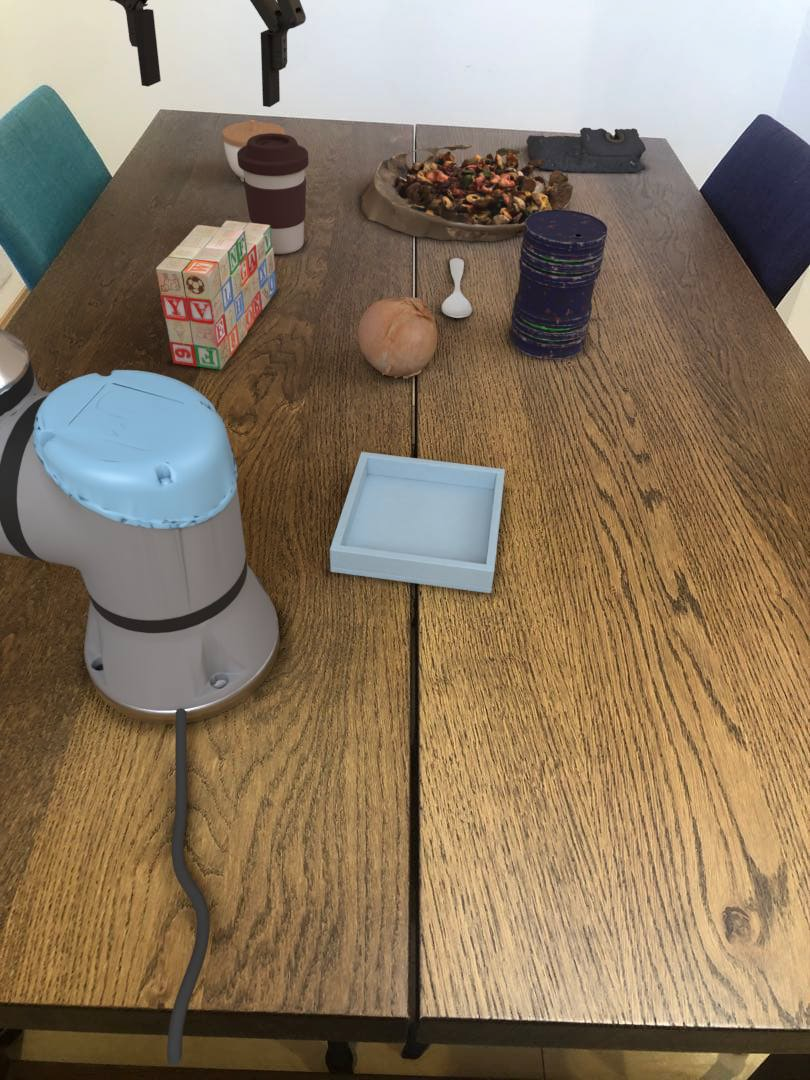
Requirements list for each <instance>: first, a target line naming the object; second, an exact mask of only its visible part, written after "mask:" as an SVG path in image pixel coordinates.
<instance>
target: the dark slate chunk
mask: <svg viewBox="0 0 810 1080" xmlns="http://www.w3.org/2000/svg"><path fill="white" fill-rule="evenodd" d="M579 134H580V136H575V135H550V136H545V135H534V134H533V135H531V134H530V135H528V136H527V139H526V142H525V143H526V148H527V149H528V151H529V156H530V158H531V160H535V159H543V160H545V162H546V164H544V165H541V166H538V167H537V168H539V169H540V170H544V171H552V172H554V171H555V170H557V171H561V172H562V173H589V174H591V173H594V174H595V173H597V174H598V173H599V174H605V173H609V174H610V173H615V174H616V173H617V174H618V173H620V174H622V173H625V174H626V173H633V174H634V173H637V172H639V171H641V170H646V165H645V164H643V163H642V162H641V158H642V156H643V153H645V151H646V150H647V148H646V146H645V143H644V142H643V140H642V139H641V138H640V134H639V132H638V129H637V128H619V129H618V128H615V129H614V135H613V134H612V133H611V132H609V131H607V130H606V129H604V128H601V127H600V128H597V129H592V128H591V127H582V128H581V129H579Z"/></svg>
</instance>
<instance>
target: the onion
mask: <svg viewBox="0 0 810 1080" xmlns="http://www.w3.org/2000/svg"><path fill="white" fill-rule="evenodd" d="M430 310H431V309H429V308H428V305H425V302H424V301H422V299H420V298H418V297H413V296H410V297H409V296H405V297H403V296H402V297H386V298H382V299H380V300H377V301H375V302H374V303H371V304H370V305H369V306H368V307H367V309H366V310H365V311H364V313H363V314H362V316H361V318H360V319H359V323H358V328H357V334H356V335H357V342H358V346H359V349H360V351H361V353H362V355H363V356H364V358H365V359H366V360H367V364H369V365H371V366H372V367H373V368H374V369H375V370H376V371H377V372H378V373H381V375H382V376H384V375H385V376H387V377H393V378H395V379H397V378H401V377H402V378H403V379H404V380H406V379H407V380H409V378H410V377H414V376H417V375H419V374H420V373H421V372H422V371H423V369H424V368H425V366H427V364H429V362H431V360H432V358H433V356H434V355H435V352H436V349H437V344H438V329H437V325H436V322H435V317H434V316H433V314H432V313H431V311H430Z"/></svg>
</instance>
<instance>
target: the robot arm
mask: <svg viewBox="0 0 810 1080" xmlns="http://www.w3.org/2000/svg"><path fill="white" fill-rule="evenodd" d="M109 1H110V2H111V1H112V2H113V1H114V2H115V3H117V4H119V5H120V6H121V7H123V8H124V12H125V17H126V23H127V32H128V39H129V43H130V46H131V47H132V48H133V47H134V48H136V49H137V57H138V67H139V72H140V83H141V86H142V87H151V86H153V85H155V84H157V83H158V84H159V83H160V82H161V81H162V79H161V71H160V60H159V50H158V42H157V33H156V24H155V12H154V9H151V8H145V7H148V5H149V3H147V2H148V1H149V0H109ZM249 1H250V3H251V4H252V6H253V8H254V9H255V10H256V12H257V13H258V15H259V17H260V19H261V20H262V21H263V23H264V25H265V26H266V28H267V29H265V30H263V31H261V32H260V57H261V58H260V59H261V62H260V63H261V87H262V89H261V90H262V106H263V107H266V108H271V107H273V106H275V105H277V104H278V103H279V102H280V101H281V95H280V94H281V91H280V90H281V89H280V71H281V70H283V69H285V68H286V67H287V64H288V32H289V30H290V29H295V28H297V27H299V26H301V25H303V24H305V22H306V19H307V18H306V17H307V16H306V13H305V11H304V10H305V9H304V7H303V5H302V2H301V0H249ZM35 374H36V373H35V372H34V369H33V365H32V361H31V358H30V355H29V351H28V349H27V347H26V345H25V343H23V341H22V340H21V339H19V338H18V337H17V336H15V335H14V334H11V333H10V332H8V331H6V330H5V329H2V328H0V554H3V555H9V556H15V557H19V558H24V559H31V560H36V561H39V562H40V561H41V562H45V563H51V564H57V565H62V566H67V567H72V568H74V569H76V570H78V571H79V572H80V574H81V576H82V577H81V578H82V580H83V582H84V585H85V588H86V591H87V593H88V596H89V607H88V615H87V621H86V629H85V636H84V645H83V656H84V663H85V667H86V669H87V672H88V675H89V677H90V680H91V683H92V685H93V687H94V689H95V691H96V692H97V694H98V695H99V697H100V698H101V699H102V700H103V701H104V703H106V704H107V705H108V706H109V707H110V708H112V709H113V710H115V711H116V712H117V713H119V714H120V715H121V714H122V715H123V716H125V717H128V718H130V719H132V720H135V721H138V722H142V723H147V724H151V725H152V724H153V725H166V726H167V725H170V726H173V725H175V743H174V744H175V751H174V753H175V754H174V755H175V757H174V759H175V762H174V765H175V766H174V767H175V768H174V769H175V771H174V772H175V773H174V774H175V778H174V779H175V795H174V796H175V806H174V807H175V808H174V821H173V827H172V828H173V829H172V835H171V861H172V862H171V863H172V868H173V872H174V874H175V877H176V879H177V881H178V882H179V885H180V886H181V888H182V890H183V892H184V893H185V894H186V896H187V897H188V899H189V901H190V902H191V905H192V907H193V909H194V913H195V917H196V918H195V919H196V933H195V940H194V945H193V949H192V953H191V955H190V959H189V962H188V964H187V968H186V970H185V973H184V975H183V977H182V981H181V983H180V986H179V988H178V992H177V993H176V997H175V1001H174V1003H173V1007H172V1011H171V1014H170V1021H169V1024H168V1032H167V1033H168V1034H167V1045H166V1047H167V1048H166V1060H167V1062H168V1066H171V1067H175V1066H178V1065H179V1063H180V1062H181V1060H182V1055H183V1036H184V1027H185V1021H186V1016H187V1012H188V1008H189V1005H190V1002H191V999H192V995H193V993H194V990H195V988H196V985H197V981H198V979H199V976H200V973H201V971H202V969H203V965H204V962H205V959H206V955H207V951H208V945H209V940H210V924H211V923H210V912H209V911H210V910H209V906H208V903H207V900H206V897H205V895H204V894H203V892H202V890H201V889H200V887H199V886H198V884H197V883H196V881H195V880H194V878H193V876H192V875H191V873H190V872H189V868H188V866H187V864H186V860H185V859H186V858H185V851H184V850H185V849H184V845H185V835H186V826H187V818H188V817H187V814H188V769H187V768H188V767H187V766H188V765H187V764H188V763H187V762H188V761H187V756H188V755H187V754H188V753H187V751H188V750H187V748H188V747H187V746H188V745H187V743H188V742H187V741H188V740H187V737H188V736H187V732H188V731H187V724H192V723H196V722H202V721H204V720H207V719H210V718H213V717H216V716H218V715H221V714H223V713H225V712H228V711H229V710H231V709H233V708H234V707H236V706H238V705H239V704H241V703H242V702H243V701H245V700H246V699H248V698H249V697H250V696H251V695H253V694H254V693H255V692H256V691H257V690H258V689H259V688H260V687H261V686H262V684H263V683H264V682H265V681H266V680H267V678H268V676H269V675H270V674H271V672H272V670H273V669H274V668H273V667H274V666H275V664H276V661H277V658H278V655H279V651H280V644H281V642H280V640H281V639H280V628H279V619H278V614H277V610H276V607H275V604H274V603H273V601H272V600H271V598H270V596H269V595H268V593H267V592H266V591H265V587H264V585H263V581H262V579H261V578H260V577H258V576H257V575H255V573H254V572H253V570H252V569H251V567H250V565H249V564H248V560H247V553H246V545H245V537H244V529H243V522H242V513H241V508H240V506H241V505H240V497H239V491H238V482H237V481H238V470H237V469H238V467H237V461H236V459H235V456H234V452H233V451H232V447H231V444H230V440H229V435H228V431H227V428H226V426H225V422H224V420H223V418H222V416H221V415H220V414H219V413H218V412H217V410H216V408H215V406H214V404H213V403H212V402H211V401H210V400H209V399H208V398H207V397H206V396H205V395H204V394H202V393H201V392H199V391H198V390H197V389H195V388H194V387H192V386H190V385H189V384H187V383H185V382H183V381H180V380H178V379H176V378H173V377H170V376H166V375H163V374H159V373H156V372H150V371H144V370H133V369H114V370H112V371H111V372H110V375H107V376H106V375H101V374H100V373H97V372H92V373H89V374H85V375H82V376H78V377H76V378H74V379H71V380H68V381H67V382H64V383H63V384H61V385H60V386H58V387H56V388H55V389H54V390H52V391H51V392H49V391H44V390H43V389H41V388H40V386H39V385H38V381H37V378H36V375H35Z"/></svg>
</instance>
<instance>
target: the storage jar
mask: <svg viewBox="0 0 810 1080" xmlns="http://www.w3.org/2000/svg"><path fill="white" fill-rule="evenodd" d="M524 229H525V232H524V234H522V241H521V246H520V251H519V253H520V257H519V260H518V263H519V264H518V268H519V271H520V272H519V280H518V286H517V292H516V293H515V295H514V301H513V306H512V310H511V311H512V312H511V329H510V333H509V340H510V342H511V344H512V346H513V347H515V349H517V350H518V351H520V352H522V353H523V354H526V355H528V356H530V357H533V358H538V359H546V360H563V359H568V358H572V357H575V356H576V355H578V354H580V353H581V352H582V351H583V349H584V347H585V344H586V343H585V342H586V336H587V333H588V331H589V328H590V324H591V314H592V310H593V303H592V299H593V295H594V291H595V285H596V281H597V279H598V278H599V276H600V273H601V266H602V263H603V261H604V255H605V246H606V239H607V237H608V233H609V232H608V230H609V229H608V226H607V224H606V223H605V222H604V221H603V220H601V219H600V218H597V217H596V216H594V215H591V214H588V213H585V212H582V211H577V210H572V209H571V210H570V209H554V210H544V211H540V212H536V213H533V214H531V215H530V216H529V217H527V219H526V221H525V228H524Z"/></svg>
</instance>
